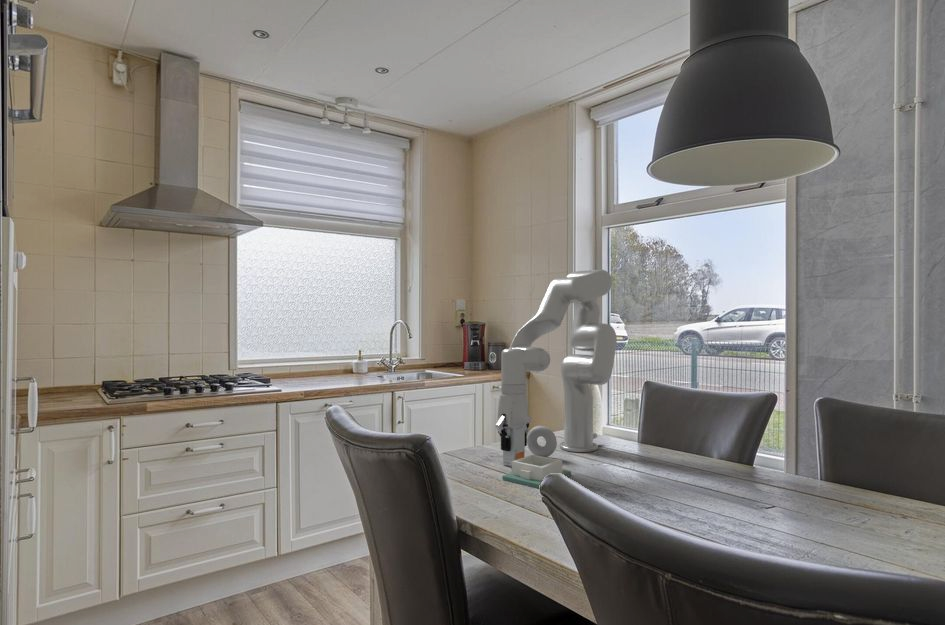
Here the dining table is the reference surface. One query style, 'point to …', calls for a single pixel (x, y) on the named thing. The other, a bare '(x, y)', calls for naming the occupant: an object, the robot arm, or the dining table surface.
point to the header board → (534, 470)
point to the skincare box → (515, 445)
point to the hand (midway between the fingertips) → (514, 447)
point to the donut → (549, 438)
